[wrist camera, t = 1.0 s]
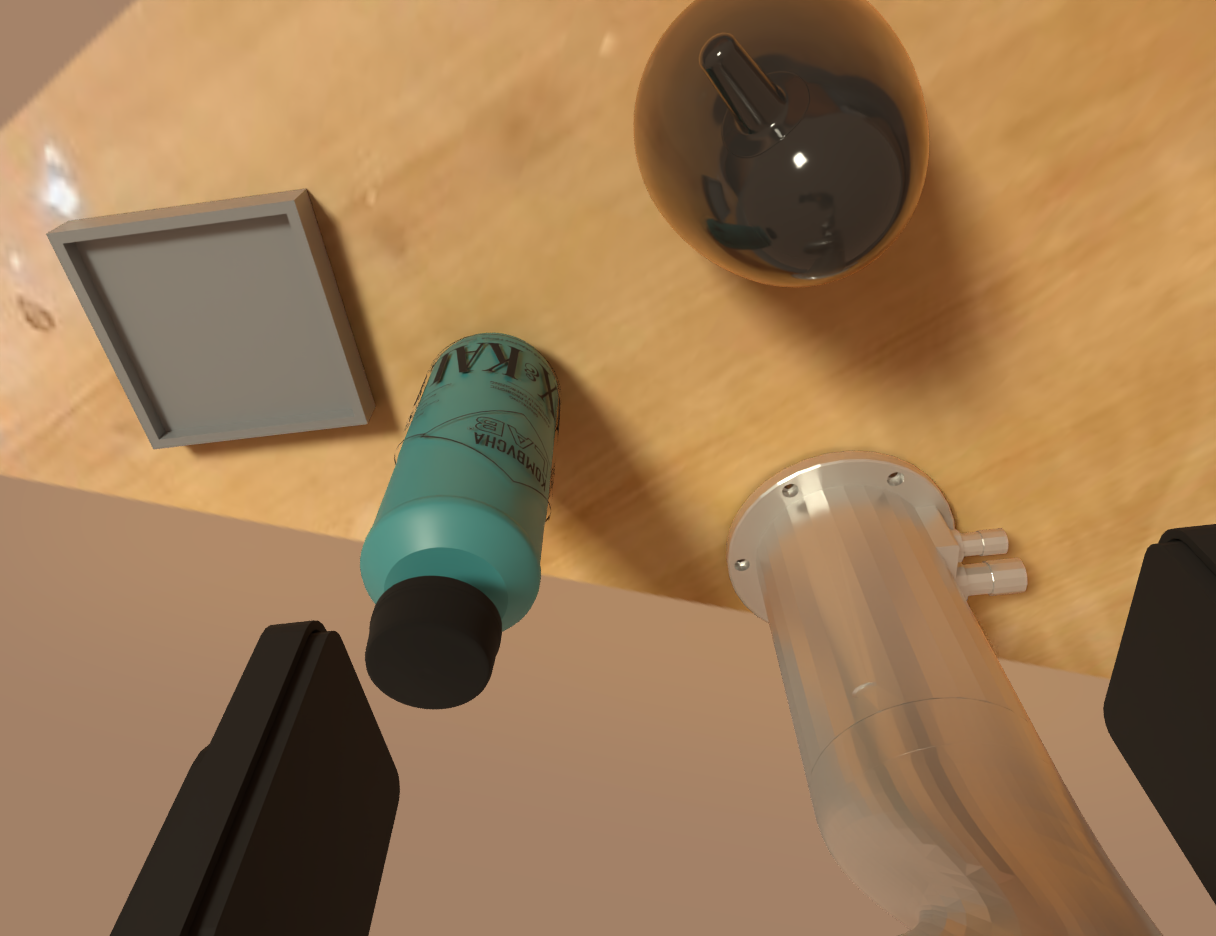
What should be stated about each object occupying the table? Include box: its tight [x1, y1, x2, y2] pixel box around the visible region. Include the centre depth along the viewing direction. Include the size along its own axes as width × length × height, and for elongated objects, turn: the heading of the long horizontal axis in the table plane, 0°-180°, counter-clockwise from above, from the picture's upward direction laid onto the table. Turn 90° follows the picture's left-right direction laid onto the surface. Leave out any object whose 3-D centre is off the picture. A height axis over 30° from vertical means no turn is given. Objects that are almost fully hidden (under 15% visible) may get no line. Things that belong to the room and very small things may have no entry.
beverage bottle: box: [360, 333, 561, 709], centre depth 34 cm, size 6×7×20 cm
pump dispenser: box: [634, 0, 929, 288], centre depth 29 cm, size 10×10×15 cm
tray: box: [46, 189, 376, 449], centre depth 40 cm, size 11×11×2 cm
